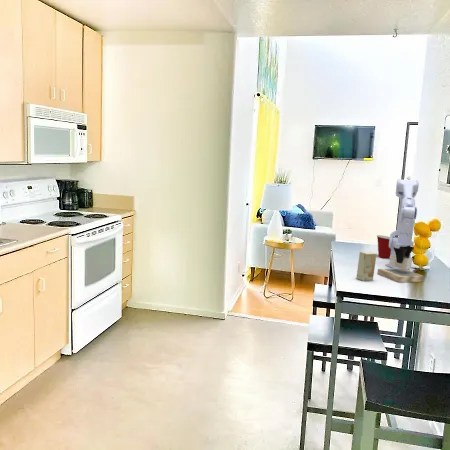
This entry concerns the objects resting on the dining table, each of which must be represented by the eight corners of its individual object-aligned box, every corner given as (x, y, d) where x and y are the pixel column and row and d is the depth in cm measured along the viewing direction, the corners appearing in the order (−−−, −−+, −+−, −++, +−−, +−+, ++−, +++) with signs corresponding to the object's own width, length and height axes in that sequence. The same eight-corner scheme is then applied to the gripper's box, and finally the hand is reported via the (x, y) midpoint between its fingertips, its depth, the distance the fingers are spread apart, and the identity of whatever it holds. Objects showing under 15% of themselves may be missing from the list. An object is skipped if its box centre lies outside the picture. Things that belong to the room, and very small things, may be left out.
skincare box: (362, 281, 195) (366, 253, 193) (355, 278, 199) (359, 251, 197) (373, 280, 198) (377, 253, 196) (366, 277, 202) (369, 251, 200)
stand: (400, 273, 215) (401, 267, 215) (423, 281, 202) (424, 275, 202) (377, 274, 210) (377, 268, 209) (399, 282, 197) (399, 276, 197)
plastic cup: (398, 259, 246) (401, 238, 244) (382, 260, 242) (385, 238, 240) (385, 255, 256) (388, 234, 254) (369, 255, 252) (372, 234, 250)
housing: (394, 264, 210) (395, 251, 209) (410, 268, 204) (412, 255, 203) (389, 265, 207) (391, 252, 206) (406, 269, 201) (408, 256, 200)
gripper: (404, 230, 211) (400, 258, 213) (389, 232, 201) (385, 262, 203) (419, 233, 206) (415, 262, 208) (404, 235, 196) (400, 265, 198)
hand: (401, 262), depth 205 cm, fingers closed on housing, 4 cm apart
